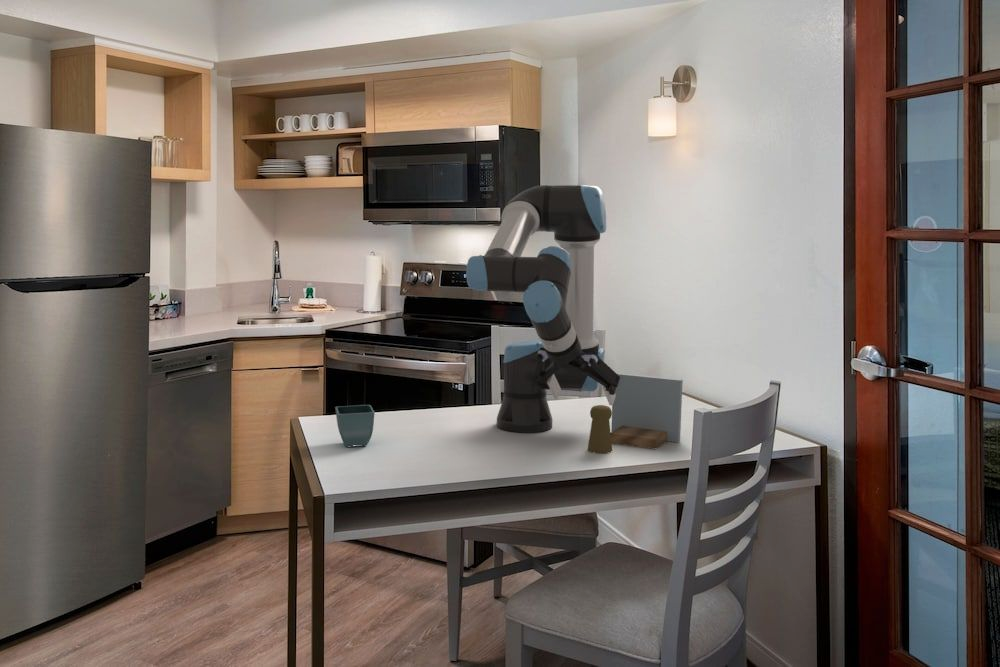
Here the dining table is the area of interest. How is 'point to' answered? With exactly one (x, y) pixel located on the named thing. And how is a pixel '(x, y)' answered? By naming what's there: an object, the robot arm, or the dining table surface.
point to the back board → (648, 404)
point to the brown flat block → (638, 436)
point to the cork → (600, 430)
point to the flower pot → (355, 424)
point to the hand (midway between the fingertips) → (585, 397)
